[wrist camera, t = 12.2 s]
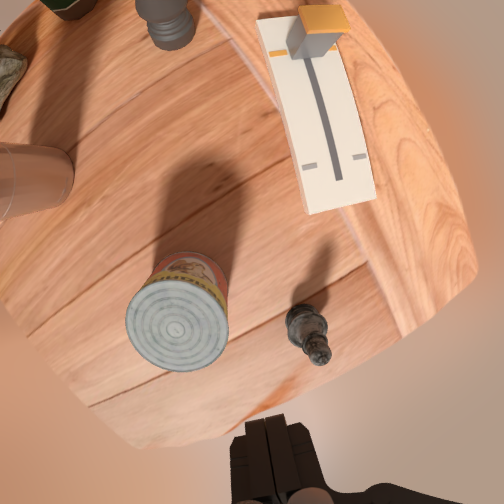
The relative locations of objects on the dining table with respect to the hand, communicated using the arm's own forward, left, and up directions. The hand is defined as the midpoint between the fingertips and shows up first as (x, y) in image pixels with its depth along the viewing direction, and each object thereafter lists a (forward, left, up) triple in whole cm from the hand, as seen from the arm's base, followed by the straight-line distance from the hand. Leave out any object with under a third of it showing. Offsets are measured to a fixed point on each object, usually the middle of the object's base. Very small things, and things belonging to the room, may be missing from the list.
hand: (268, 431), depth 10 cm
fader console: (-1, +22, -32) cm, 39 cm away
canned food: (-3, -9, -32) cm, 34 cm away
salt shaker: (+14, -5, -32) cm, 35 cm away
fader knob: (-7, +28, -29) cm, 41 cm away
